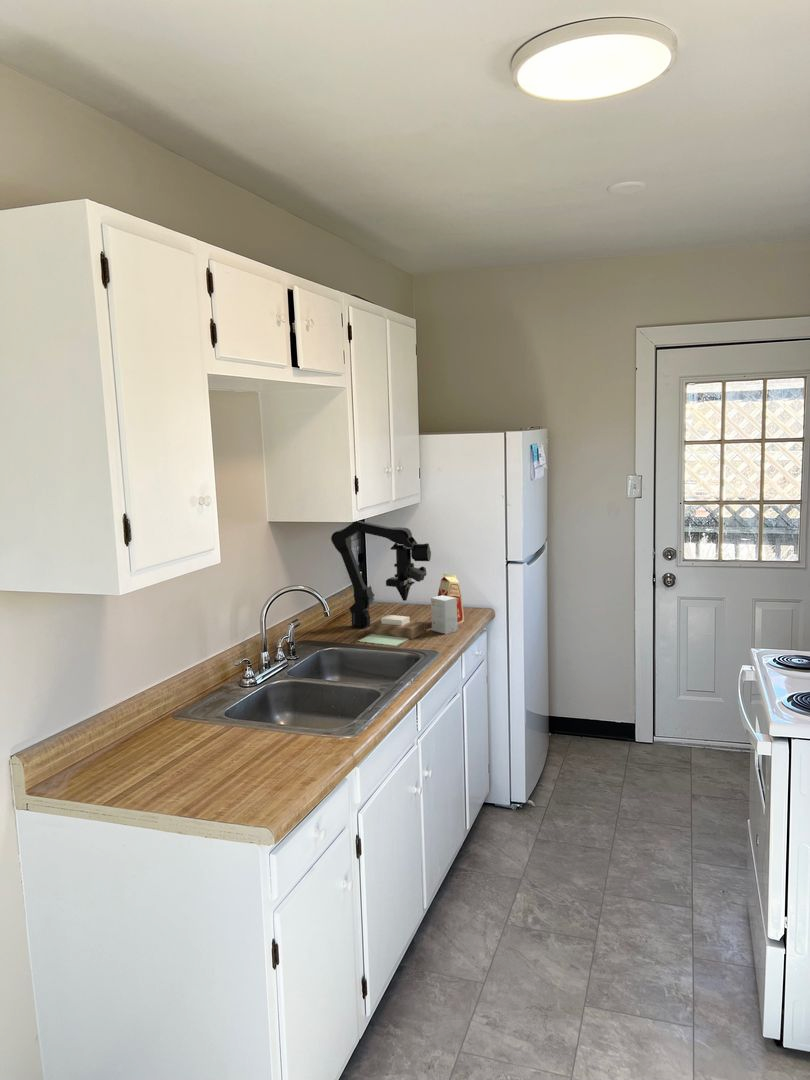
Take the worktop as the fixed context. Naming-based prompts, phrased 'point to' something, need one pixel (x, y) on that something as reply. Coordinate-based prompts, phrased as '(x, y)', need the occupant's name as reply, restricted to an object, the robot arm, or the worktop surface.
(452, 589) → the milk carton
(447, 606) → the small box
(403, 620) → the cream white eraser block
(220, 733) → the worktop surface
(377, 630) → the brown wooden block
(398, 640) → the mat
